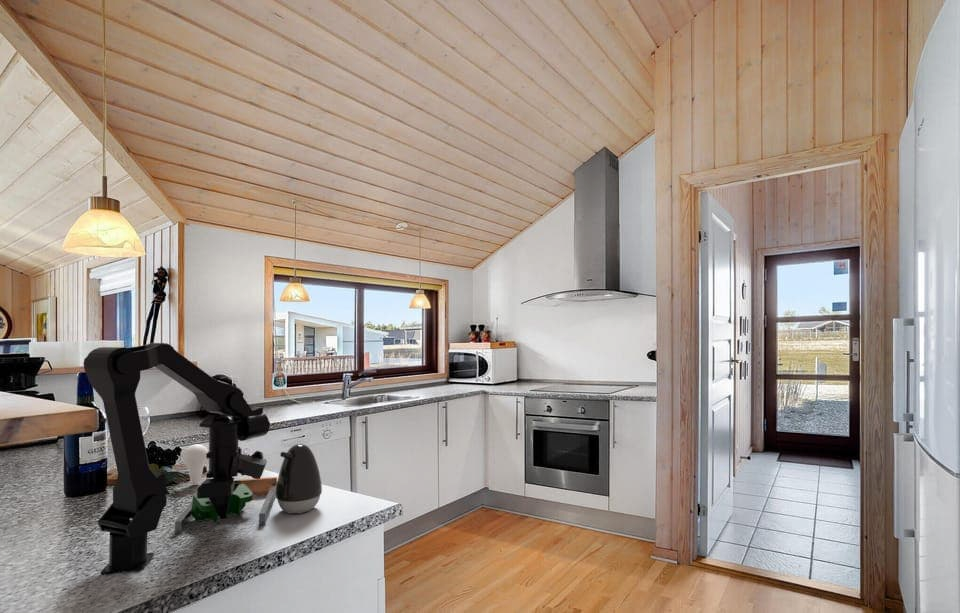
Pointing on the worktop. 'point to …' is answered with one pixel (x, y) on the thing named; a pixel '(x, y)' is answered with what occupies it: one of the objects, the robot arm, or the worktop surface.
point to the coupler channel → (258, 488)
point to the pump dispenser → (298, 480)
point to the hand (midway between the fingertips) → (223, 518)
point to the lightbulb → (195, 462)
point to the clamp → (206, 510)
